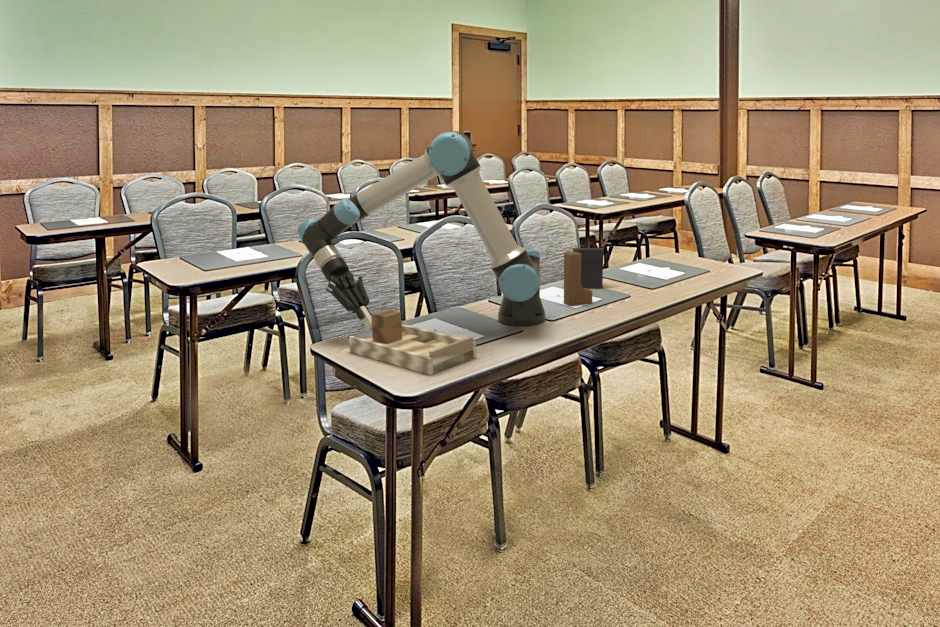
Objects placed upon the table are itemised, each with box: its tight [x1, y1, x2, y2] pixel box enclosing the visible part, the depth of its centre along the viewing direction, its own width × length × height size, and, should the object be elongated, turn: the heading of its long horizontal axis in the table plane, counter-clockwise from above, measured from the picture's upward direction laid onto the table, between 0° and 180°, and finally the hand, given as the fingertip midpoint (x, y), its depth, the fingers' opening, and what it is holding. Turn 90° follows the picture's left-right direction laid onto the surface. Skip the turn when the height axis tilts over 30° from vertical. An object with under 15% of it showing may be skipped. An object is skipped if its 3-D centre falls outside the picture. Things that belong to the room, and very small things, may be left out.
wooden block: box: [563, 251, 593, 307], centre depth 263 cm, size 9×4×18 cm, turn 109°
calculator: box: [572, 247, 604, 290], centre depth 285 cm, size 11×4×15 cm, turn 86°
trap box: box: [348, 323, 478, 376], centre depth 214 cm, size 32×18×6 cm, turn 49°
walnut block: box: [370, 308, 402, 344], centre depth 219 cm, size 6×6×8 cm
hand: (371, 326), depth 223 cm, fingers closed
